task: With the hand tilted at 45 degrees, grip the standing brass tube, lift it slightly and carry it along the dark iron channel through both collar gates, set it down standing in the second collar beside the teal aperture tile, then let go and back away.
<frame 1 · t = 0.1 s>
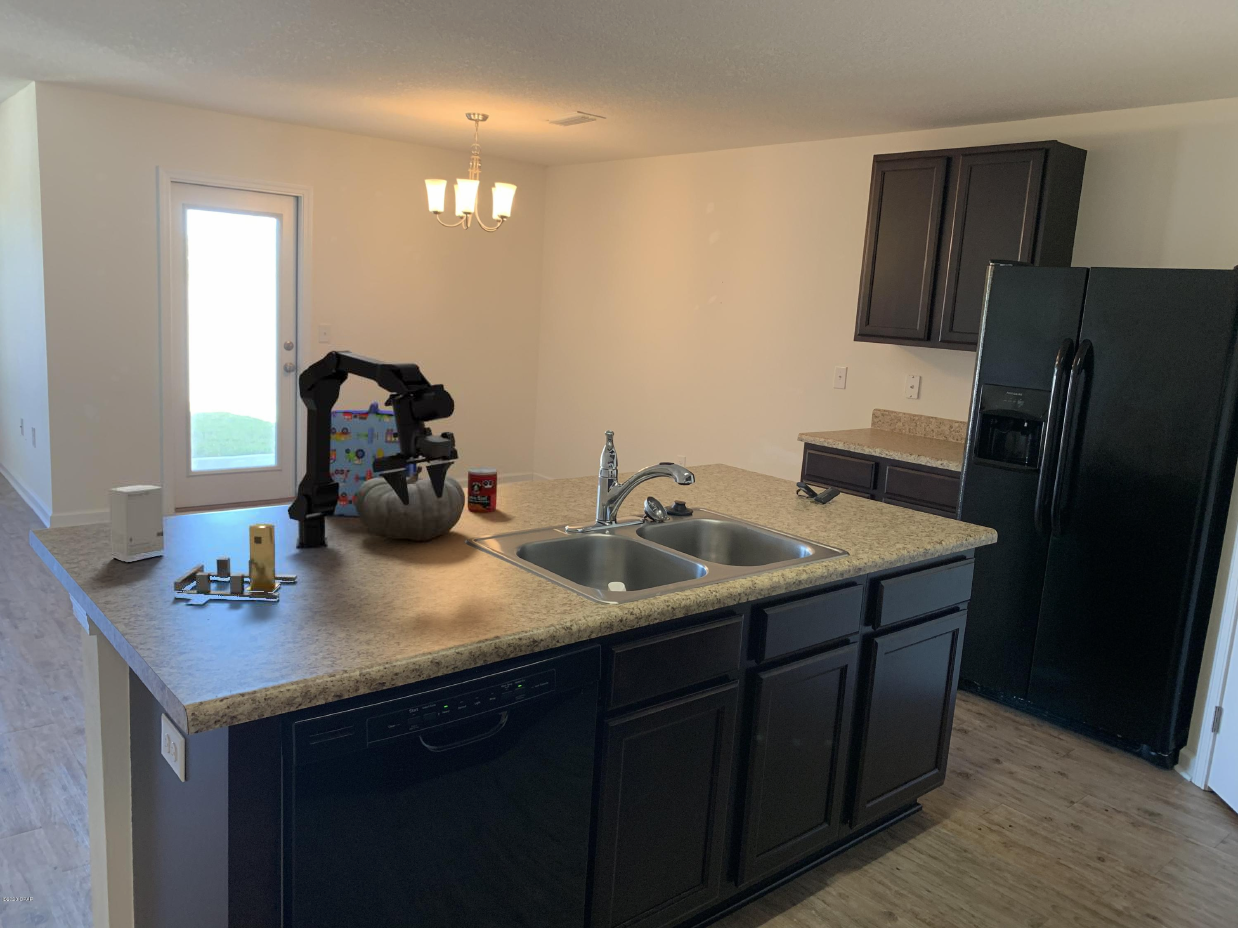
hand: (423, 501, 181), 15 cm above the worktop, tool pointing down, fingers open, 9 cm apart
skincare box: (138, 558, 186), on the worktop
canned food: (481, 510, 243), on the worktop
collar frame: (238, 589, 169), on the worktop
lunch bag: (371, 512, 234), on the worktop
gourd: (410, 536, 213), on the worktop
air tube: (263, 590, 169), on the worktop
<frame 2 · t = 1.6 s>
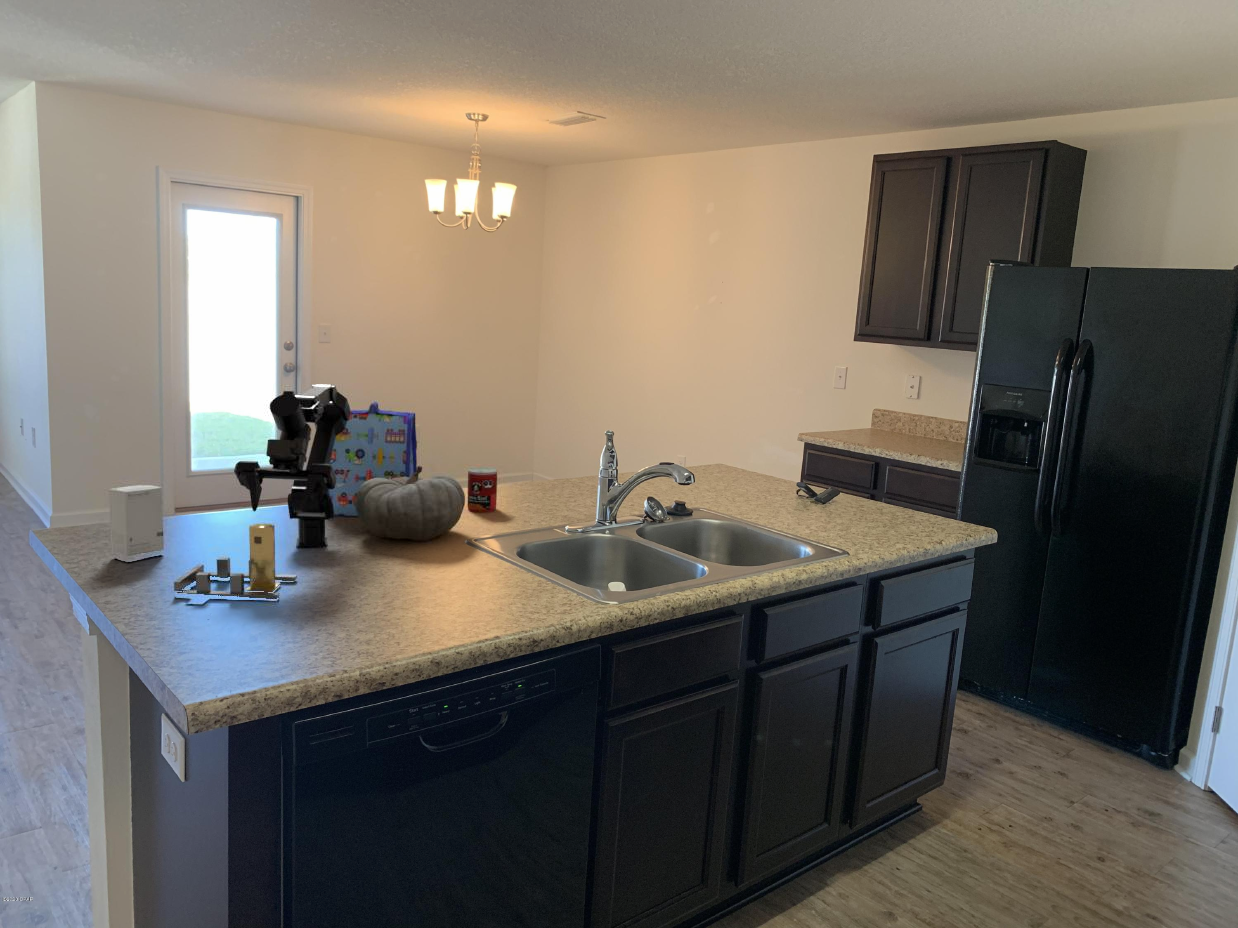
hand: (277, 511, 175), 13 cm above the worktop, tool tilted 45°, fingers open, 9 cm apart
nothing on the worktop moved.
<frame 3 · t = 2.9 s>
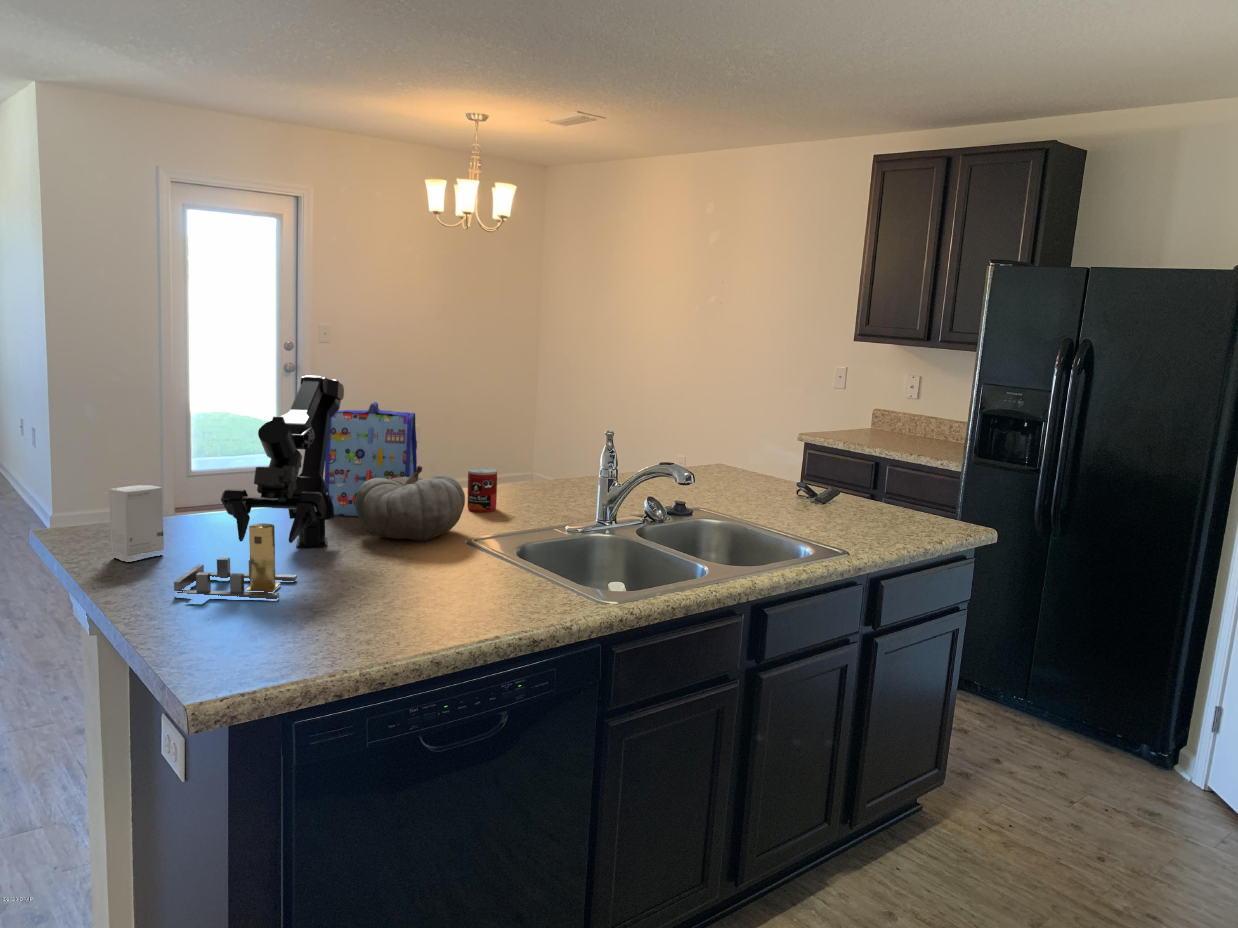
hand: (265, 541, 169), 9 cm above the worktop, tool tilted 45°, fingers open, 9 cm apart
nothing on the worktop moved.
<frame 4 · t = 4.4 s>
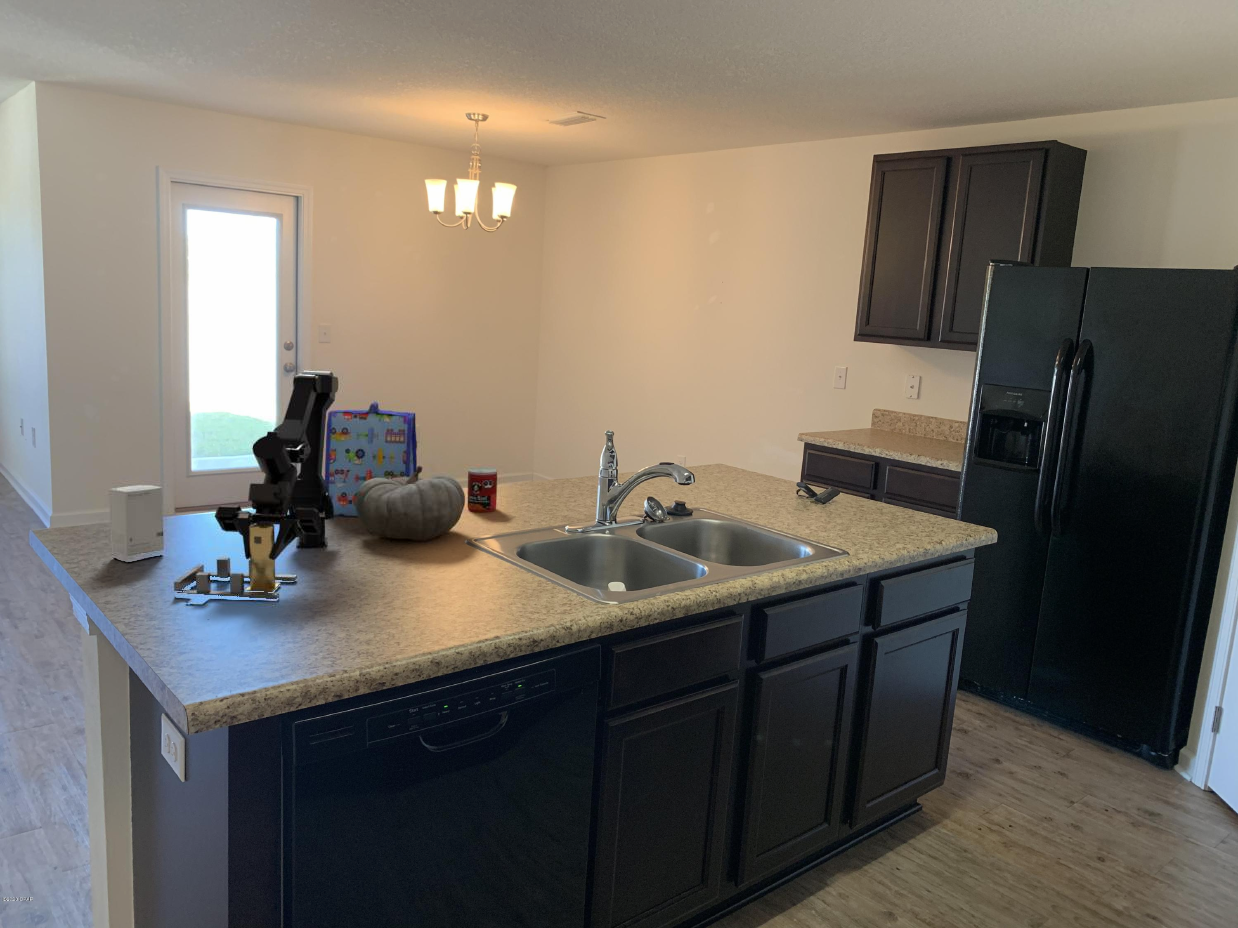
hand: (259, 558, 166), 7 cm above the worktop, tool tilted 45°, fingers closed on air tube, 4 cm apart
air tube: (263, 590, 169), on the worktop, touching gripper
everything else where it was.
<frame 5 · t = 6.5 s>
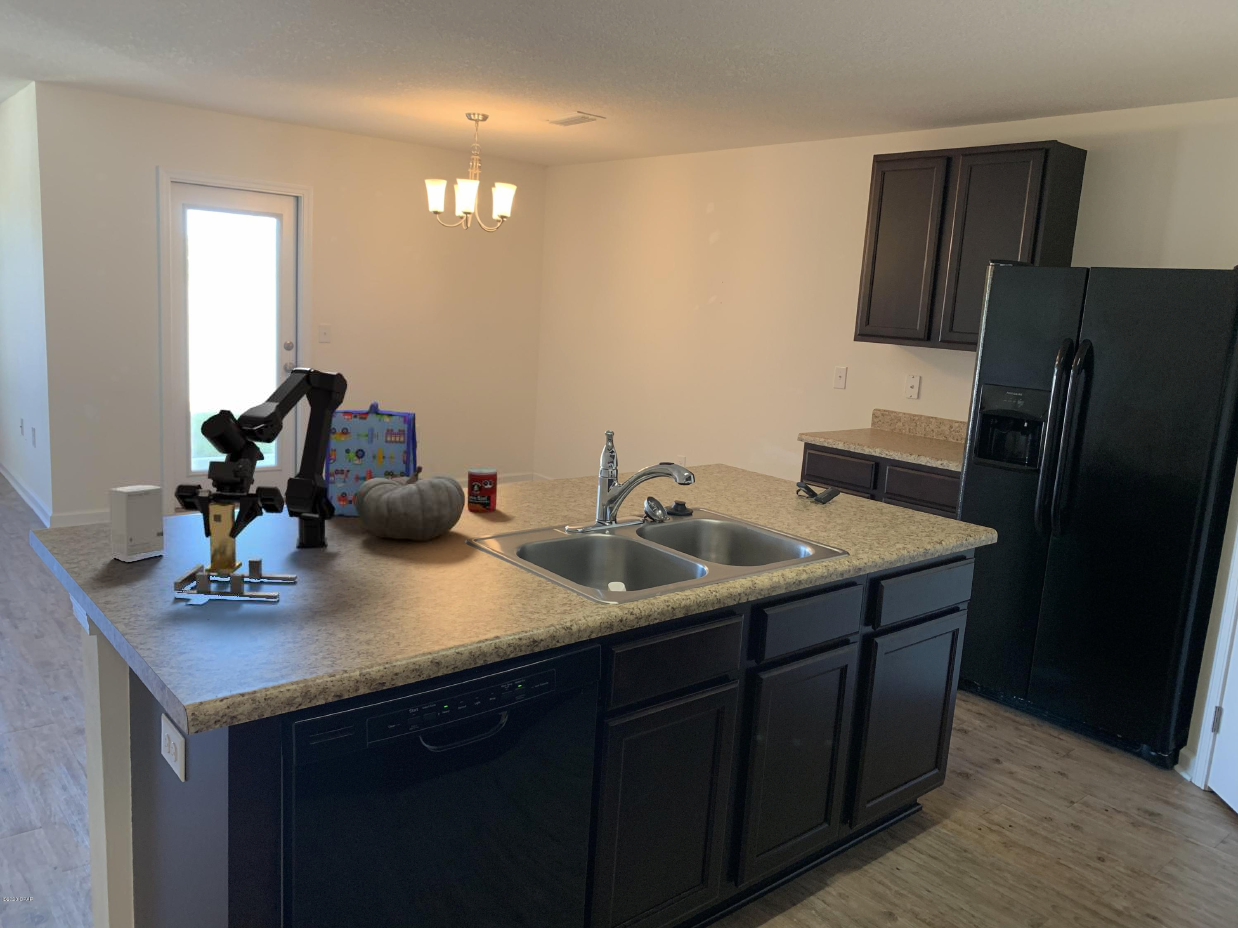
hand: (219, 536, 165), 11 cm above the worktop, tool tilted 45°, fingers closed on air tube, 4 cm apart
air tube: (223, 569, 168), point 4 cm above the worktop, touching gripper
everything else where it was.
when the fingers open (7 cm above the worktop, at t = 8.8 s): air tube stays where it is, on the worktop.
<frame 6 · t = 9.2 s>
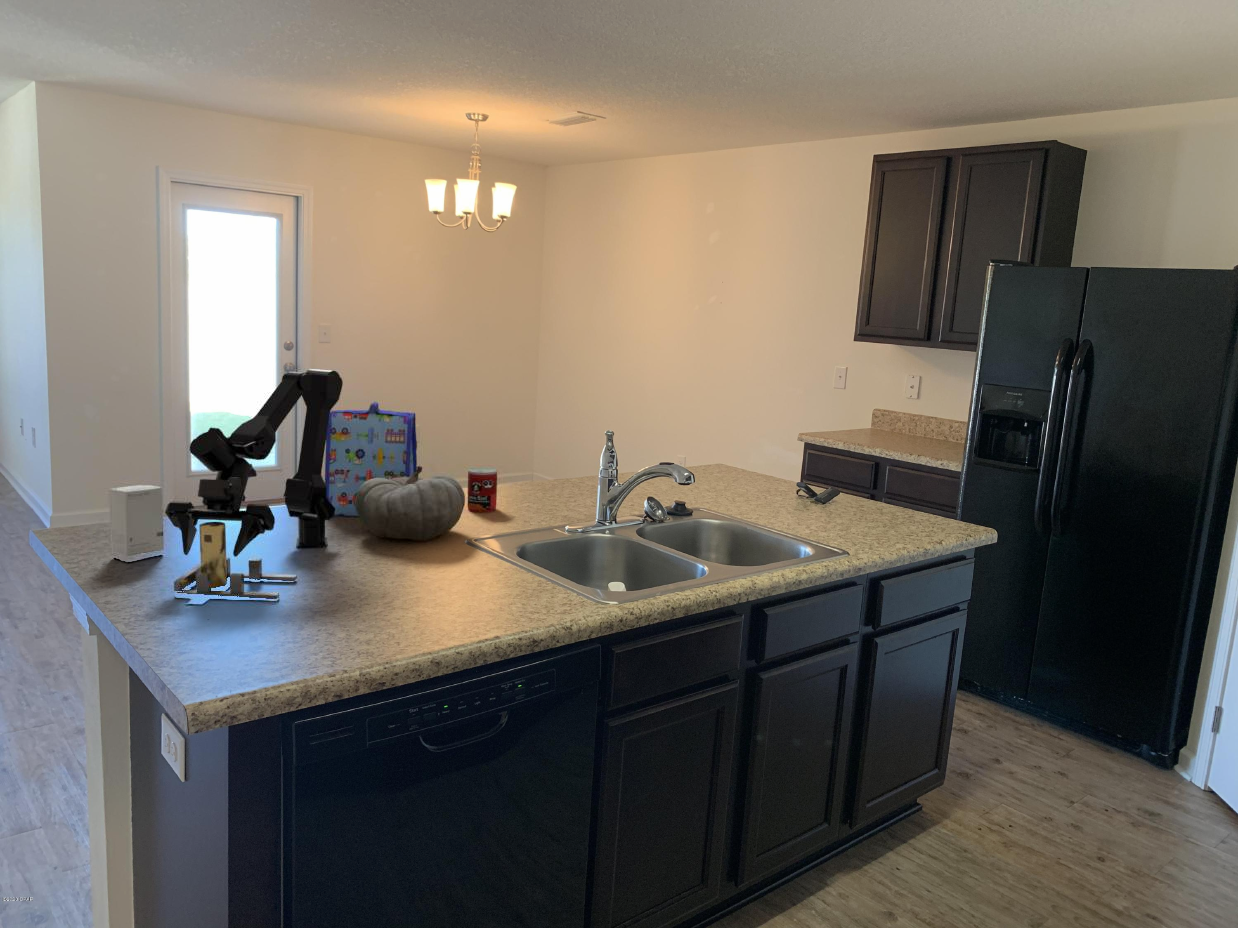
hand: (210, 554, 166), 7 cm above the worktop, tool tilted 45°, fingers open, 9 cm apart
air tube: (214, 588, 169), on the worktop
everything else where it was.
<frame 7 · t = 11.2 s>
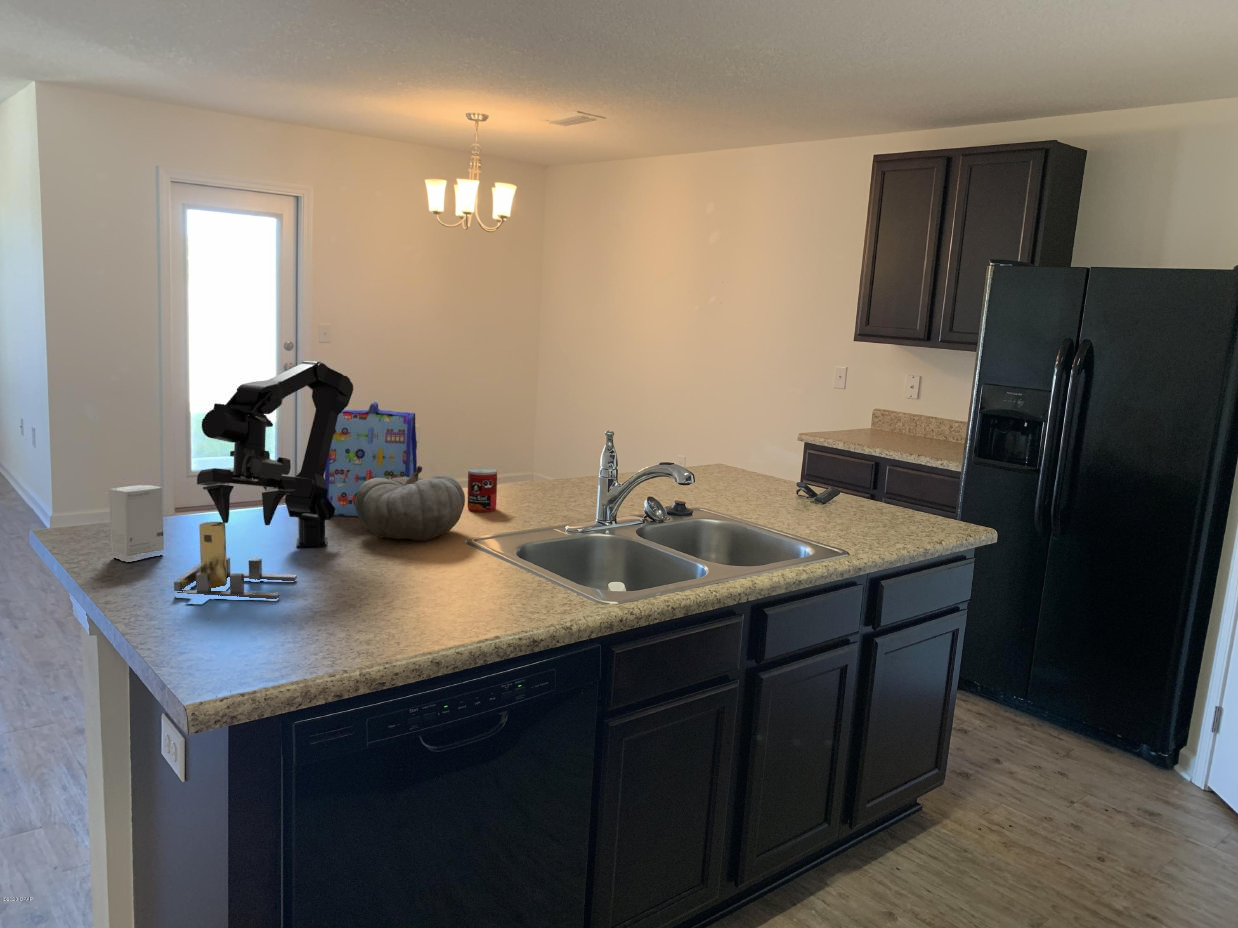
hand: (246, 524, 176), 10 cm above the worktop, tool tilted 20°, fingers open, 9 cm apart
nothing on the worktop moved.
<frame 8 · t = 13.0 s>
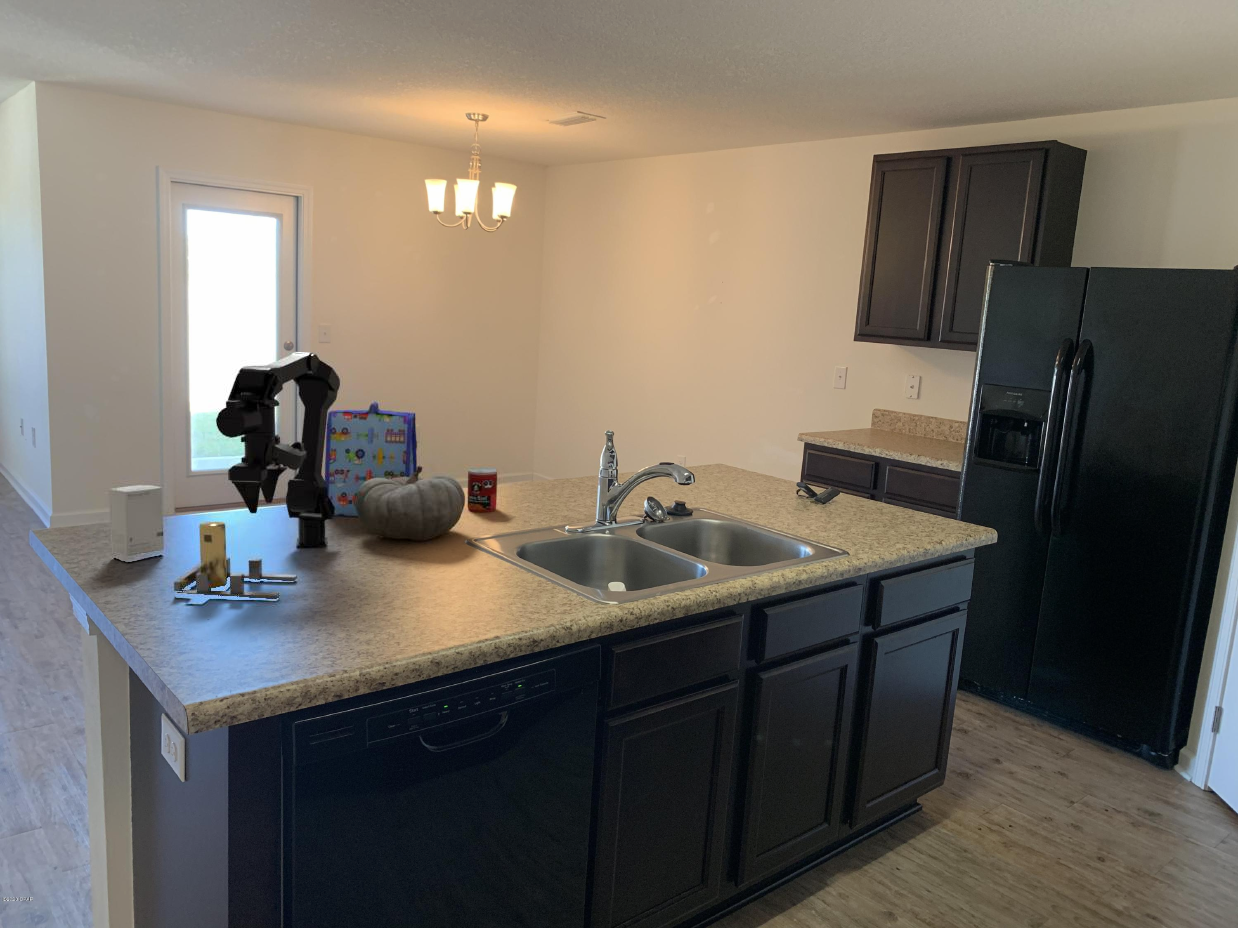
hand: (261, 507, 179), 13 cm above the worktop, tool pointing down, fingers open, 9 cm apart
nothing on the worktop moved.
at the end: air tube 0.1 cm from the target spot on the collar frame, point 0.0 cm above the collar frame's base; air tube tilted 0°; the gripper is holding nothing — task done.
